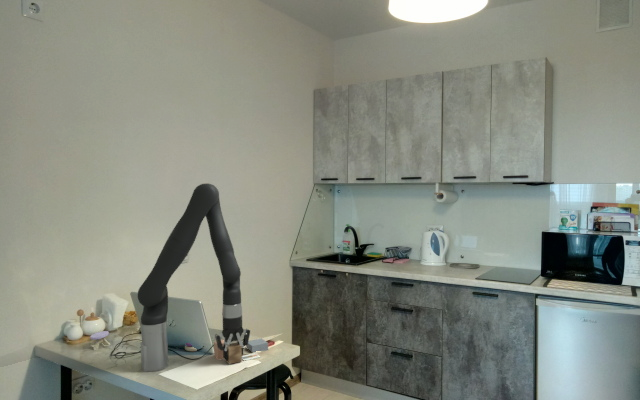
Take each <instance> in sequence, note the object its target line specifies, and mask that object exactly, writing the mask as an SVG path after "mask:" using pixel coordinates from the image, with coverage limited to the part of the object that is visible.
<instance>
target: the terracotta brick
mask: <svg viewBox="0 0 640 400" xmlns="http://www.w3.org/2000/svg"><path fill="white" fill-rule="evenodd" d="M224 340H225V339H221V343H222V346H223V345H224ZM213 349H214V351H213V353H214V357H215V358H216V359H217V360H218V361H219V360H225V359H224V358H223V350H220V349H219V348H218V346H217V342H216V340H215V341H213Z"/></svg>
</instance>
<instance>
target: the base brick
mask: <svg viewBox="0 0 640 400" xmlns="http://www.w3.org/2000/svg"><path fill="white" fill-rule="evenodd" d="M245 347H247V348H248V349H249V350H250V351H251V352H252V353H251V352H250V351H249V350H248V351H249V352H250V353H251V354H254V353H253V352H256V351H261V352H265V351H269V342H268V341H266V340H264V339H263V338H256V339H252V340H248V345H245Z"/></svg>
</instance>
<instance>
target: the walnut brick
mask: <svg viewBox="0 0 640 400" xmlns="http://www.w3.org/2000/svg"><path fill="white" fill-rule="evenodd" d="M227 351H228V360H225V362H227V364H229V365H231V364H236V363H240V362H242V361H243V360H242V350H241V345H239V344H238V343H237V342H230V345H229V347H228V350H227Z"/></svg>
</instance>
